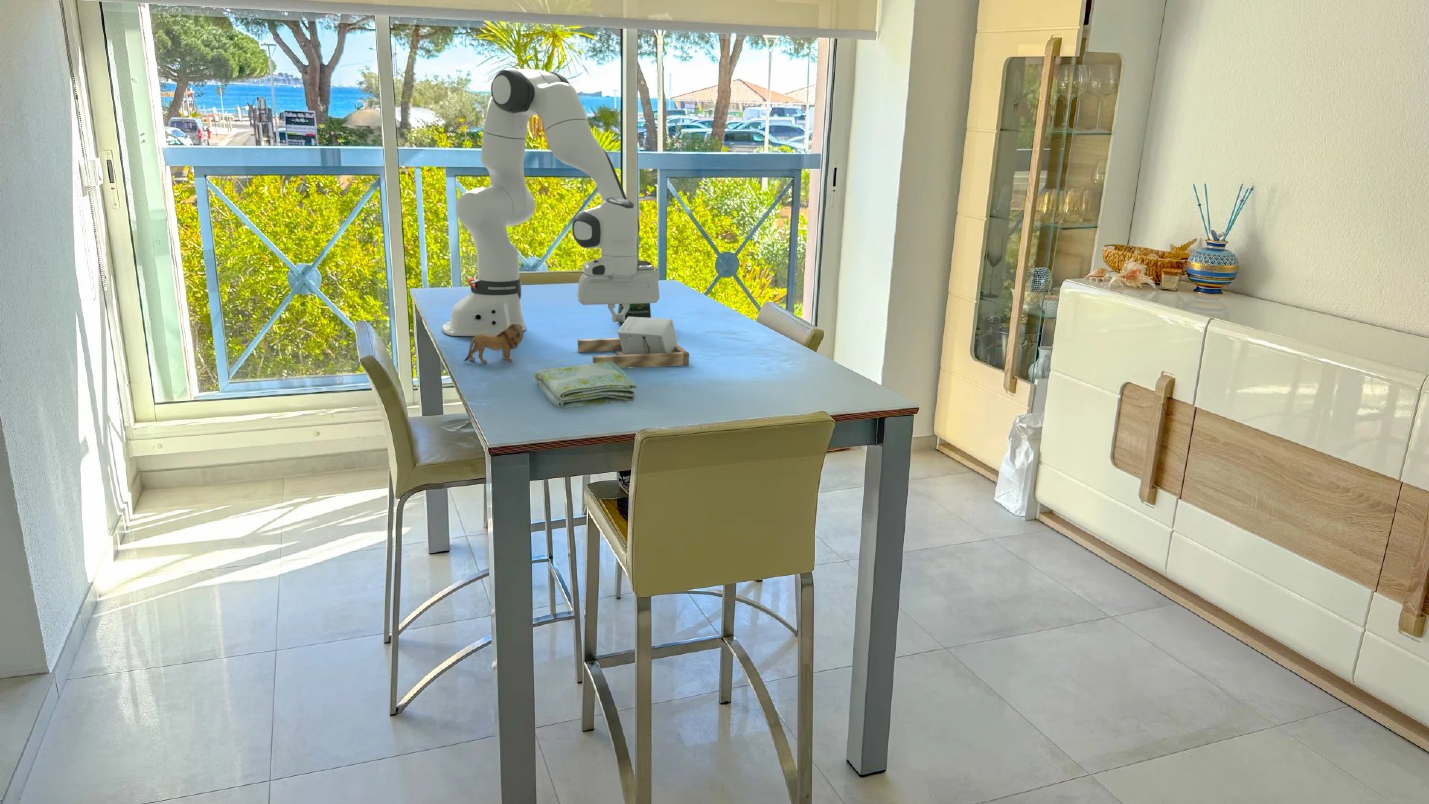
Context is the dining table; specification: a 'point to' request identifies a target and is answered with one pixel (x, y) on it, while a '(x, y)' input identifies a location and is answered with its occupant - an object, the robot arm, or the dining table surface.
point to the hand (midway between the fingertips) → (618, 321)
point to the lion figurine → (497, 342)
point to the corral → (632, 360)
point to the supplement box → (647, 335)
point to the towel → (586, 384)
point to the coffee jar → (637, 308)
